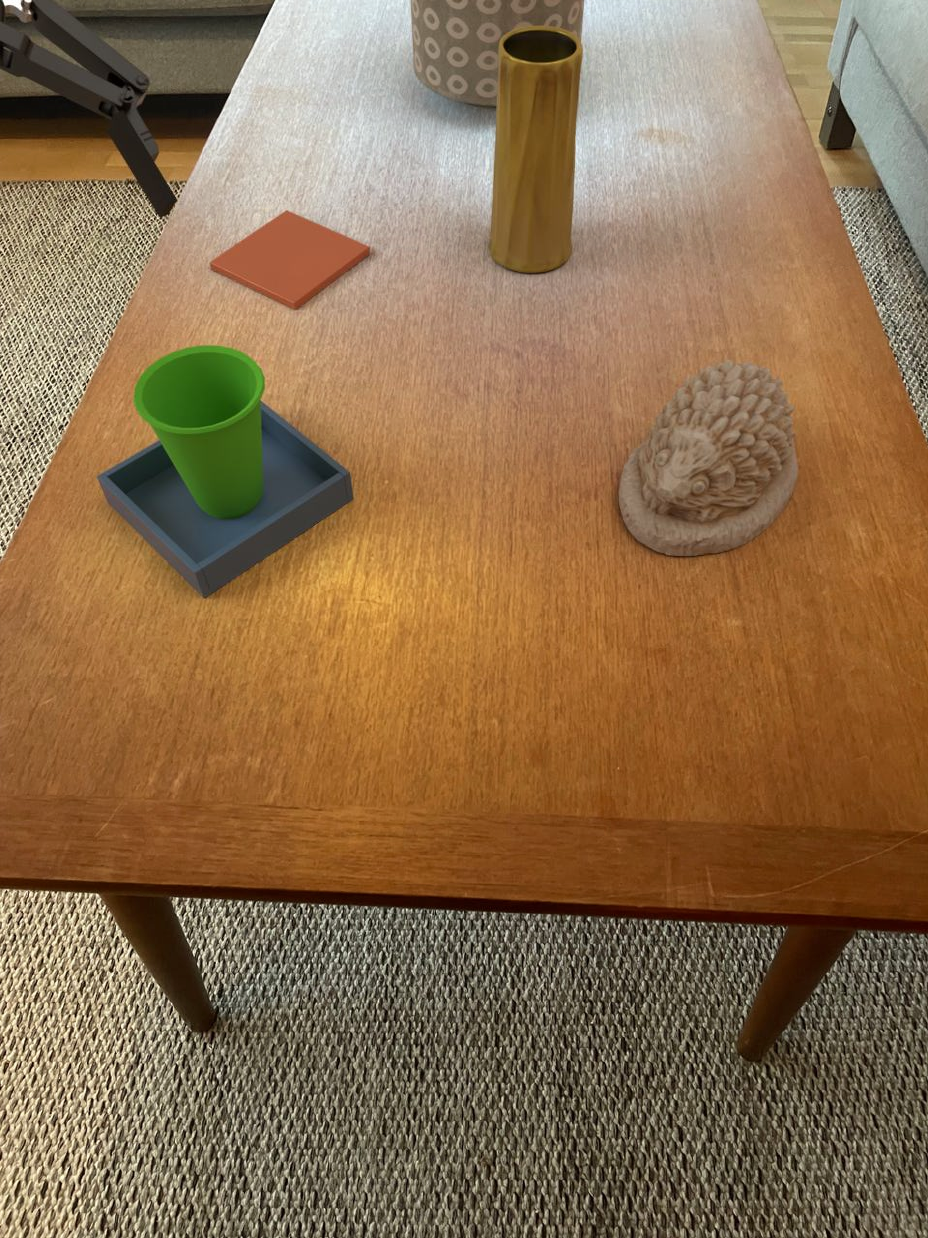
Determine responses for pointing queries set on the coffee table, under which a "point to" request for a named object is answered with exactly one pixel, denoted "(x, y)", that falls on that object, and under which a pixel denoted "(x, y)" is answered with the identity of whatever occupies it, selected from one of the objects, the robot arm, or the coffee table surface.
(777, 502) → the sculpture
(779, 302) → the coffee table surface
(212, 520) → the blue tray
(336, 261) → the terracotta coaster
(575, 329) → the coffee table surface
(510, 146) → the vase
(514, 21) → the planter
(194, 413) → the cup
